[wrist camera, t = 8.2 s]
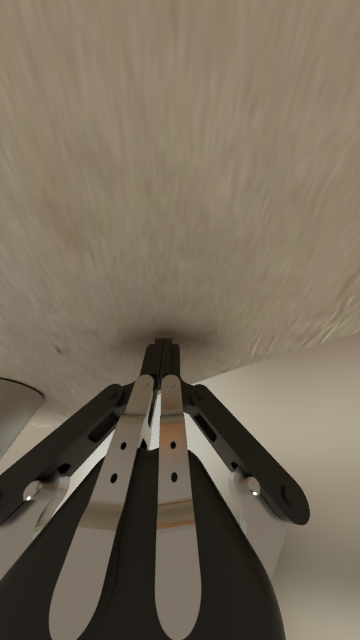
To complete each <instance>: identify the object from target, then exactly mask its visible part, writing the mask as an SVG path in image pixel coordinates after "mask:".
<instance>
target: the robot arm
mask: <svg viewBox="0 0 360 640" xmlns="http://www.w3.org/2000/svg"><path fill="white" fill-rule="evenodd" d="M158 390H161V416H160V437H159V448H156V449H154V450H149V446H150V440H151V429H152V423H153V418H154V412H155V407H156V401H157V393H158ZM43 401H44V398H43V396H42V395H40V394H39V393H38V392H36V391H35V390H33V389H31V388H29V387H26V386H24V385H21V384H18V383H15V382H11V381H7V380H2V379H0V460H1V458H2V457H3V456H4V454H5V453H6V452H7V450H8V449H9V448H10V446H11V445H12V443H13V442H14V441H15V439H16V438H17V437H18V435H19V434H20V433H21V431H22V430H23V429H24V427H25V426H26V425H27V423H28V422H29V420H30V419H31V418H32V416H33V415H34V414H35V412H36V411H37V410H38V408H39V407H40V405H41V404H42V403H43ZM183 412H185V413H187V414H189V415H190V417H191V418H192V419H193V421H194V422H195V423H196V425H197V426H198V427H199V429H200V430H201V431H202V433H203V434H204V436H205V437H206V438H207V440H208V441H209V443H210V444H211V445H212V447H213V448H214V449H215V451H216V452H217V454H218V455H219V456H220V458H221V459H222V460H223V462H224V463H225V465H226V466H227V467H228V469H229V470H230V471H231V472H230V475H229V488H230V492H231V494H232V497H233V498H234V500H235V502H236V505H237V507H238V511H239V516H240V526H239V524H238V522H237V521H236V519H235V517H234V516H233V514H232V512H231V511H230V509H229V507H228V506H227V504H226V502H225V501H224V499H223V497H222V496H221V494H220V492H219V491H218V489H217V487H216V486H215V484H214V482H213V481H212V479H211V477H210V476H209V474H208V472H207V471H206V469H205V467H204V466H203V464H202V462H201V461H200V460H199V459H198V457H197V456H196V455H195V454H194V453H193V452H191V451H190V450H188V449H187V439H186V430H185V419H184V414H183ZM115 428H116V429H115ZM114 429H115V431H114V434H113V437H112V440H111V443H110V445H109V448H108V451H107V454H106V456H104V457H103V458H102V459H101V460H100V461H99V462H98V463H97V464H96V465H95V467H94V468H93V469H92V470H91V471H90V472H89V474H88V475H87V476H86V477H85V478H84V480H83V481H82V482H81V483H80V484H79V486H78V487H77V488H76V489H75V490H74V492H73V493H72V494H71V495H70V496H69V498H68V499H67V500H66V501H65V503H64V504H63V505H62V506H61V507H60V509H59V510H58V511H57V512H56V513H55V515H54V516H53V517H52V515H53V513H54V511H55V509H56V508H57V506H58V505H59V504H60V502H61V501H62V500H63V498H64V496H65V495H66V493H67V490H68V488H69V484H70V477H71V476H72V474H73V473H74V472H75V471H76V470H77V469H78V468H79V467H80V466H81V465H82V464H83V463H84V461H85V460H86V459H87V458H88V457H89V456H90V455H91V454H92V453H93V452H94V451H95V450H96V449H97V448H98V446H99V445H100V444H101V443H102V442H103V441H104V440H105V439H106V438H107V437H108V436H109V435H110V433H111V432H112V431H113V430H114ZM51 517H52V518H51ZM309 517H310V510H309V505H308V501H307V499H306V496H305V494H304V493H303V491H302V489H301V488H300V486H299V485H298V484H297V483H296V481H295V480H294V479H293V478H292V477H291V476H290V475H289V474H288V473H287V472H286V471H285V470H284V469H283V468H282V466H280V465H279V463H278V462H277V461H276V460H275V459H274V458H273V457H272V456H271V455H270V454H269V453H268V452H267V451H266V450H265V448H264V447H263V446H262V445H261V444H260V443H259V442H258V441H257V440H256V439H255V438H254V437H253V436H252V435H251V434H250V433H249V432H248V430H247V429H246V428H245V427H244V426H243V425H242V424H241V423H240V422H239V421H238V420H237V419H236V418H235V417H234V416H233V415H232V414H231V413H230V411H228V409H227V408H226V407H225V406H224V405H223V404H222V403H221V402H220V401H219V400H218V399H217V398H216V397H215V396H214V395H213V394H212V392H210V390H209V389H208V388H207V387H206V386H204V385H201V384H197V385H195V386H193V385H190V384H187V383H185V382H184V381H183V380H182V379H181V376H180V348H179V346H178V345H177V344H172V338H156V339H155V344H149V346H148V347H147V348H146V352H145V356H144V360H143V364H142V369H141V373H140V376H139V377H138V378H137V380H136V381H135V382H133V383H131V384H128V385H125V386H121V385H119V384H112V385H110V386H108V387H106V388H105V389H104V390H103V391H102V392H100V393H99V394H98V395H97V396H96V397H94V398H93V399H92V400H91V401H90V402H88V403H87V404H86V405H85V406H83V407H82V408H81V409H80V410H79V411H77V412H76V413H75V414H74V415H73V416H71V417H70V418H69V419H68V420H66V421H65V422H64V423H63V424H62V425H60V426H59V427H58V428H57V429H56V430H54V431H53V432H52V433H51V434H50V435H48V436H47V437H46V438H45V439H43V440H42V441H41V442H40V443H39V444H37V445H36V446H35V447H34V448H33V449H31V450H30V451H29V452H28V453H27V454H26V455H24V456H23V457H22V458H20V459H19V460H18V461H17V462H16V463H14V464H13V465H12V466H11V467H10V468H8V469H7V470H6V471H5V472H4V473H2V474H1V475H0V640H286V638H285V632H284V626H283V621H282V617H281V612H280V609H279V605H278V602H277V598H276V595H275V592H274V589H273V586H272V584H271V580H272V577H273V573H274V570H275V567H276V564H277V561H278V557H279V554H280V551H281V548H282V545H283V541H284V538H285V535H286V532H287V529H288V526H289V524H290V523H293V524H298V525H305V524H306V523H307V522H308V520H309Z"/></svg>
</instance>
